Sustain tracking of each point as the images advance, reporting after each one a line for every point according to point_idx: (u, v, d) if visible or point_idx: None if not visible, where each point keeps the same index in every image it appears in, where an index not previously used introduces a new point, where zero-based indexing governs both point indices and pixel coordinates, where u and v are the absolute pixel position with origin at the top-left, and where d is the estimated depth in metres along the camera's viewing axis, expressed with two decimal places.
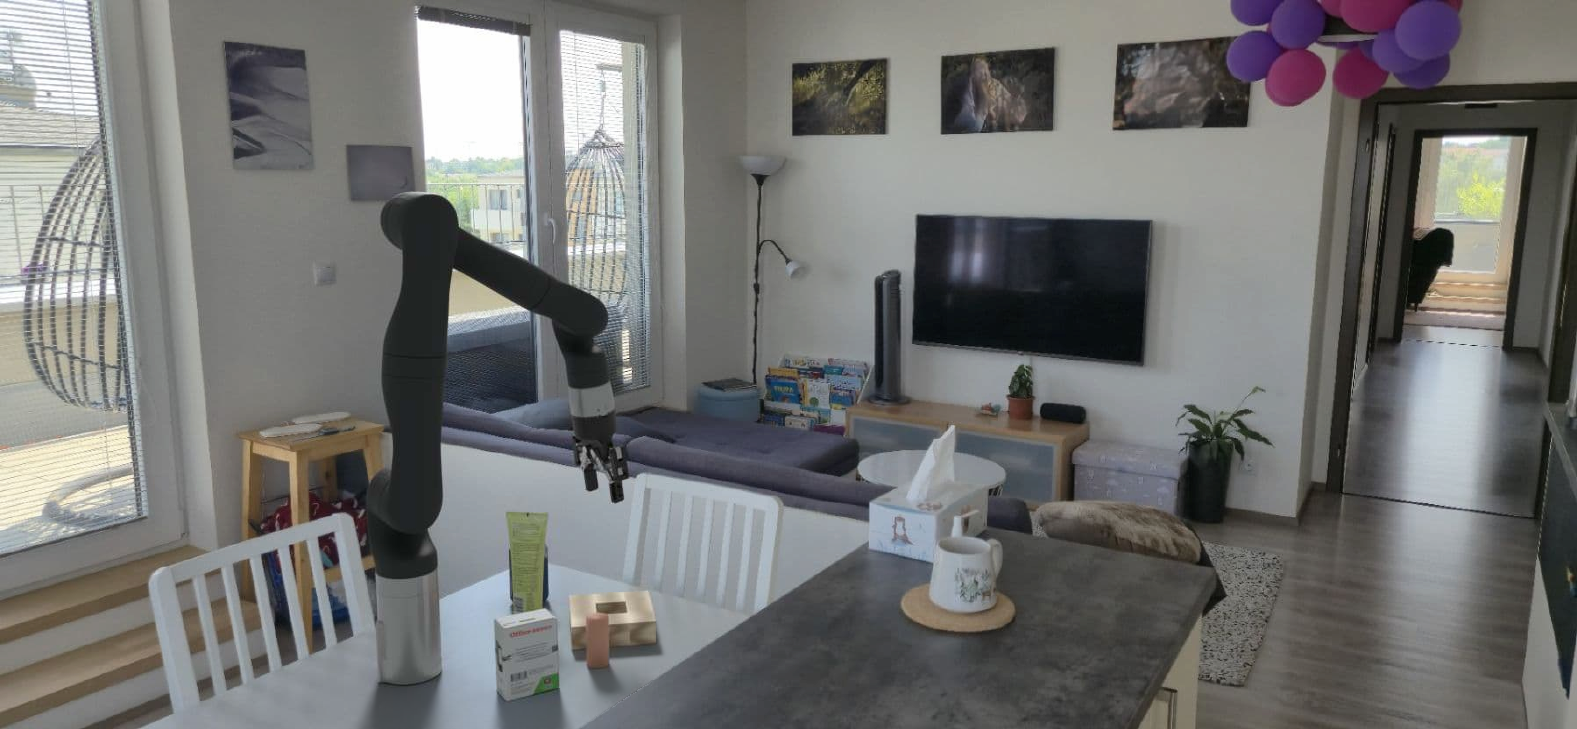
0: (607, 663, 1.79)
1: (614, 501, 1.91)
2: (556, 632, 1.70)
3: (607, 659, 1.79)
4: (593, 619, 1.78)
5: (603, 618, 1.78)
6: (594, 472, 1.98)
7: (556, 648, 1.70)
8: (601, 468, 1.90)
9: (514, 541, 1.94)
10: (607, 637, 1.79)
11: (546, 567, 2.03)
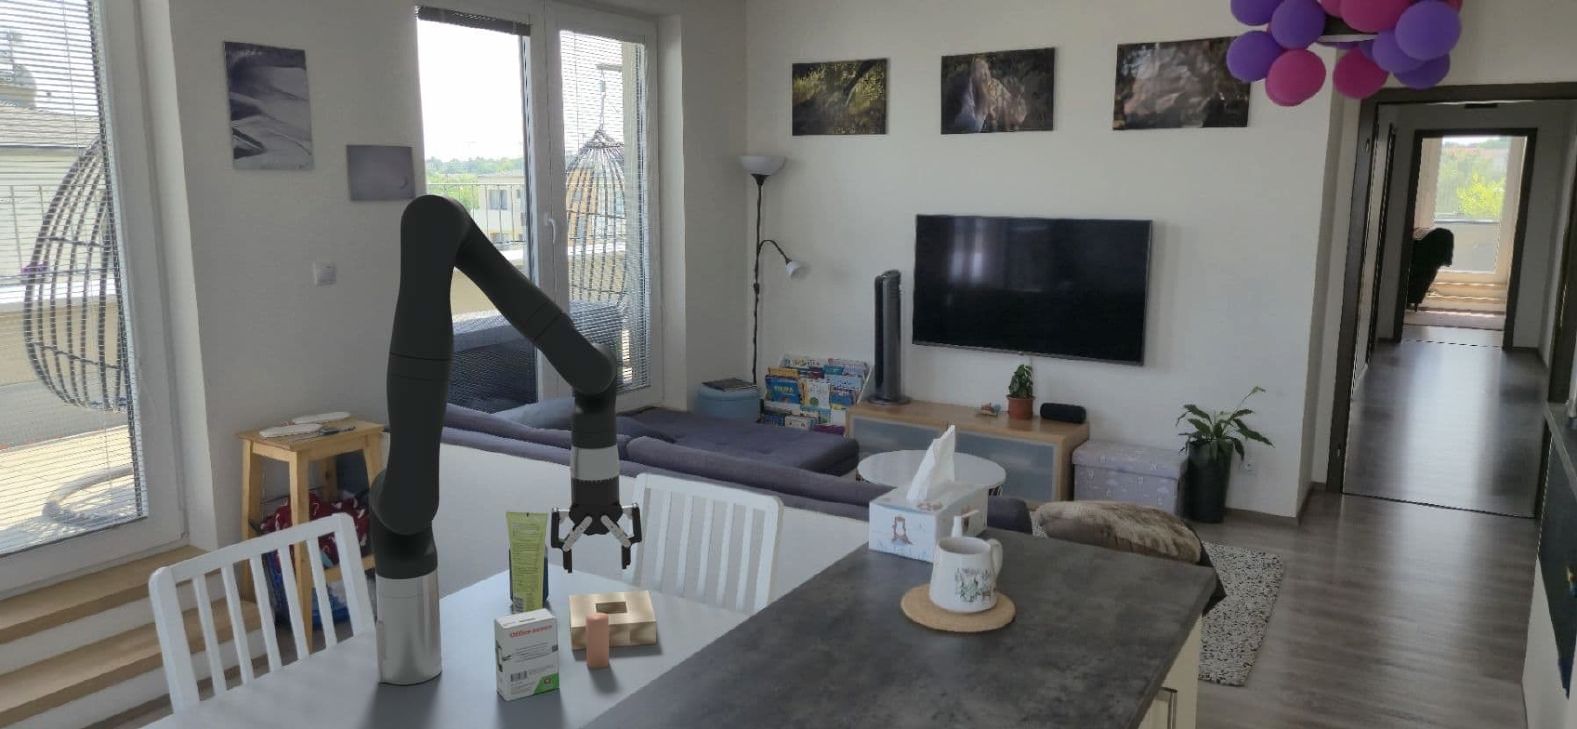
0: (607, 663, 1.79)
1: None
2: (556, 632, 1.70)
3: (607, 659, 1.79)
4: (593, 619, 1.78)
5: (603, 618, 1.78)
6: (621, 549, 1.77)
7: (556, 648, 1.70)
8: None
9: (514, 541, 1.94)
10: (607, 637, 1.79)
11: (546, 567, 2.03)
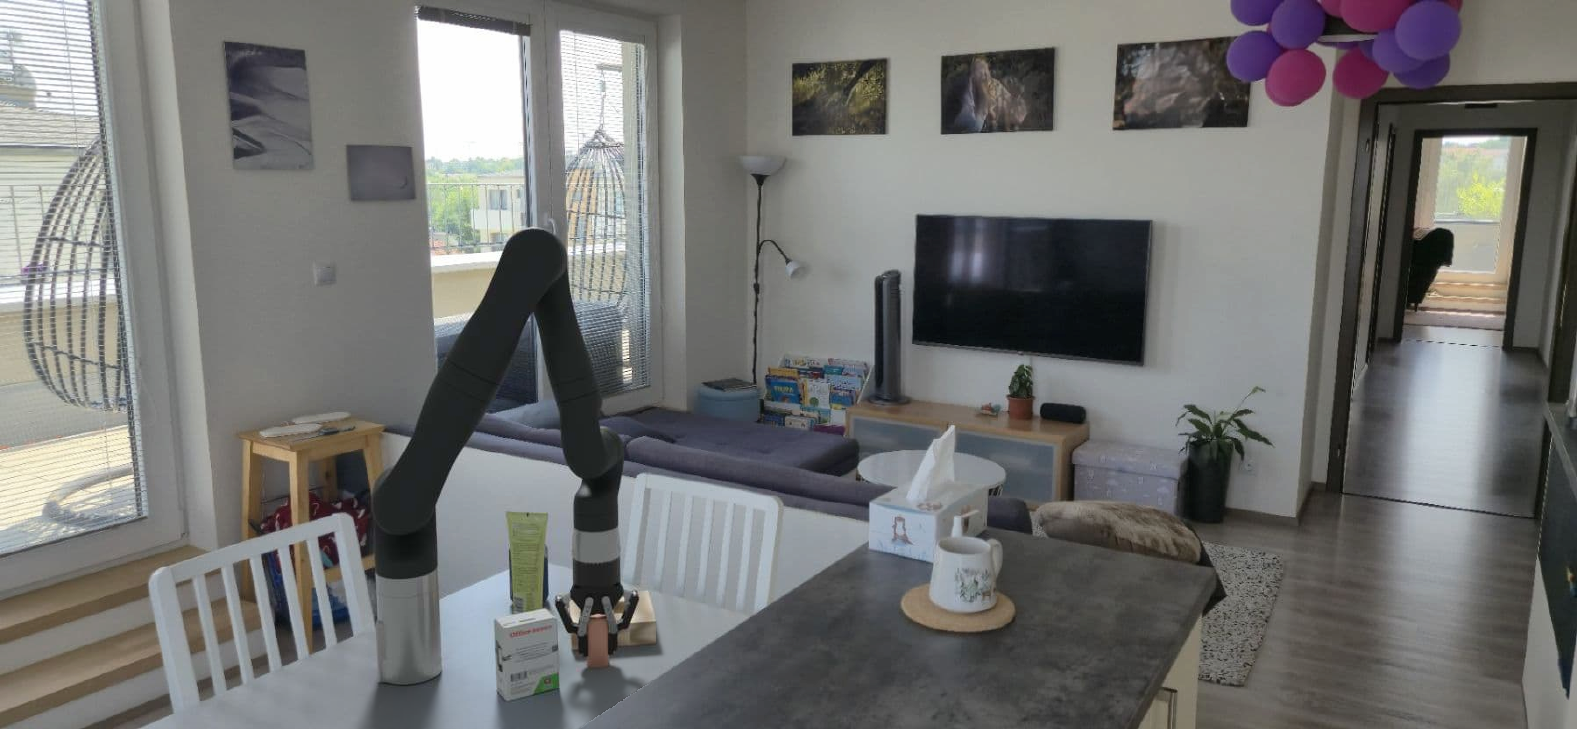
0: (607, 663, 1.79)
1: None
2: (556, 632, 1.70)
3: (607, 659, 1.79)
4: (593, 619, 1.78)
5: (603, 618, 1.78)
6: None
7: (556, 648, 1.70)
8: None
9: (514, 541, 1.94)
10: (607, 637, 1.79)
11: (546, 567, 2.03)
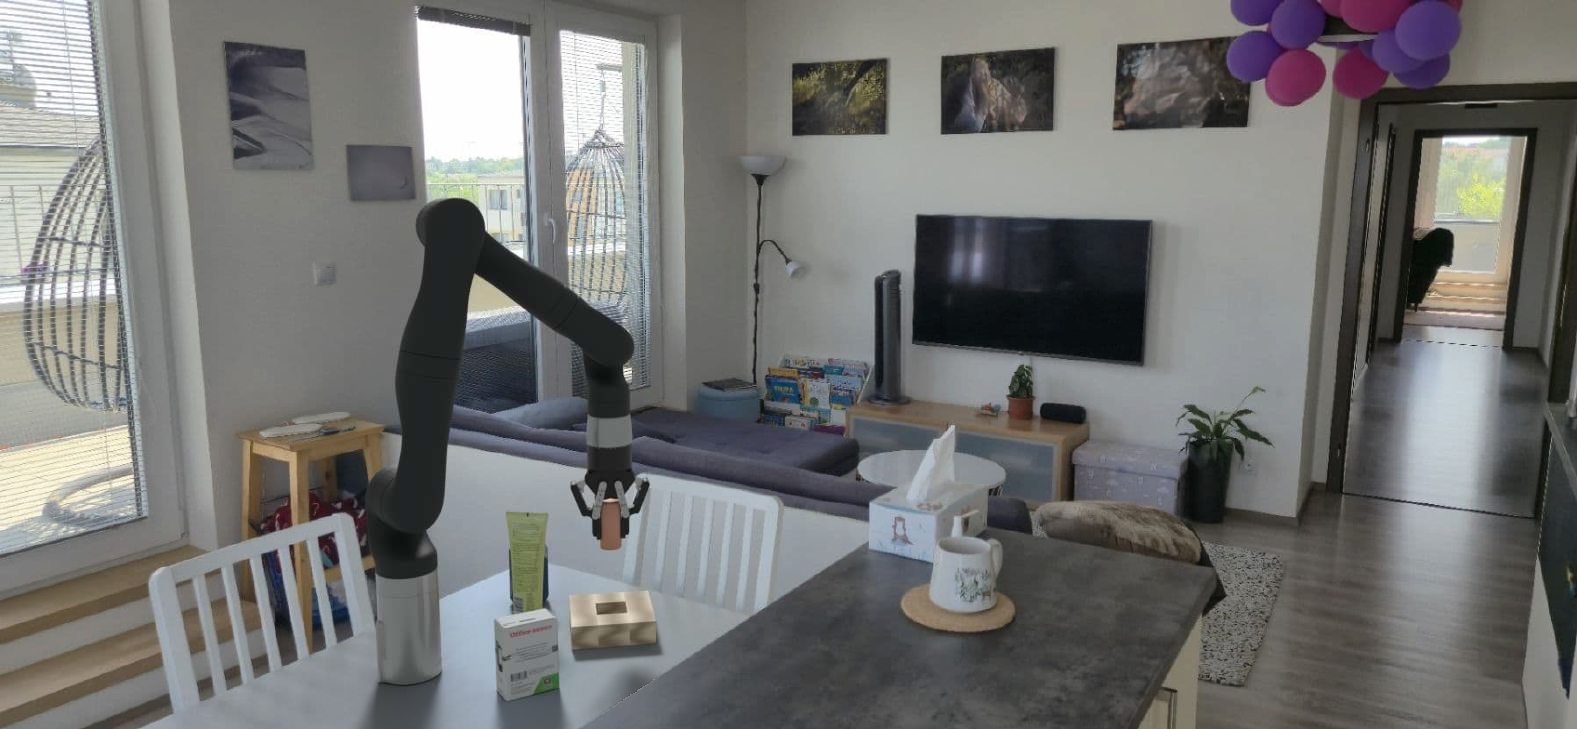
0: (620, 546, 1.90)
1: None
2: (556, 632, 1.70)
3: (620, 542, 1.90)
4: (606, 503, 1.88)
5: (616, 503, 1.88)
6: (621, 519, 1.89)
7: (556, 648, 1.70)
8: None
9: (514, 541, 1.94)
10: (620, 521, 1.89)
11: (546, 567, 2.03)
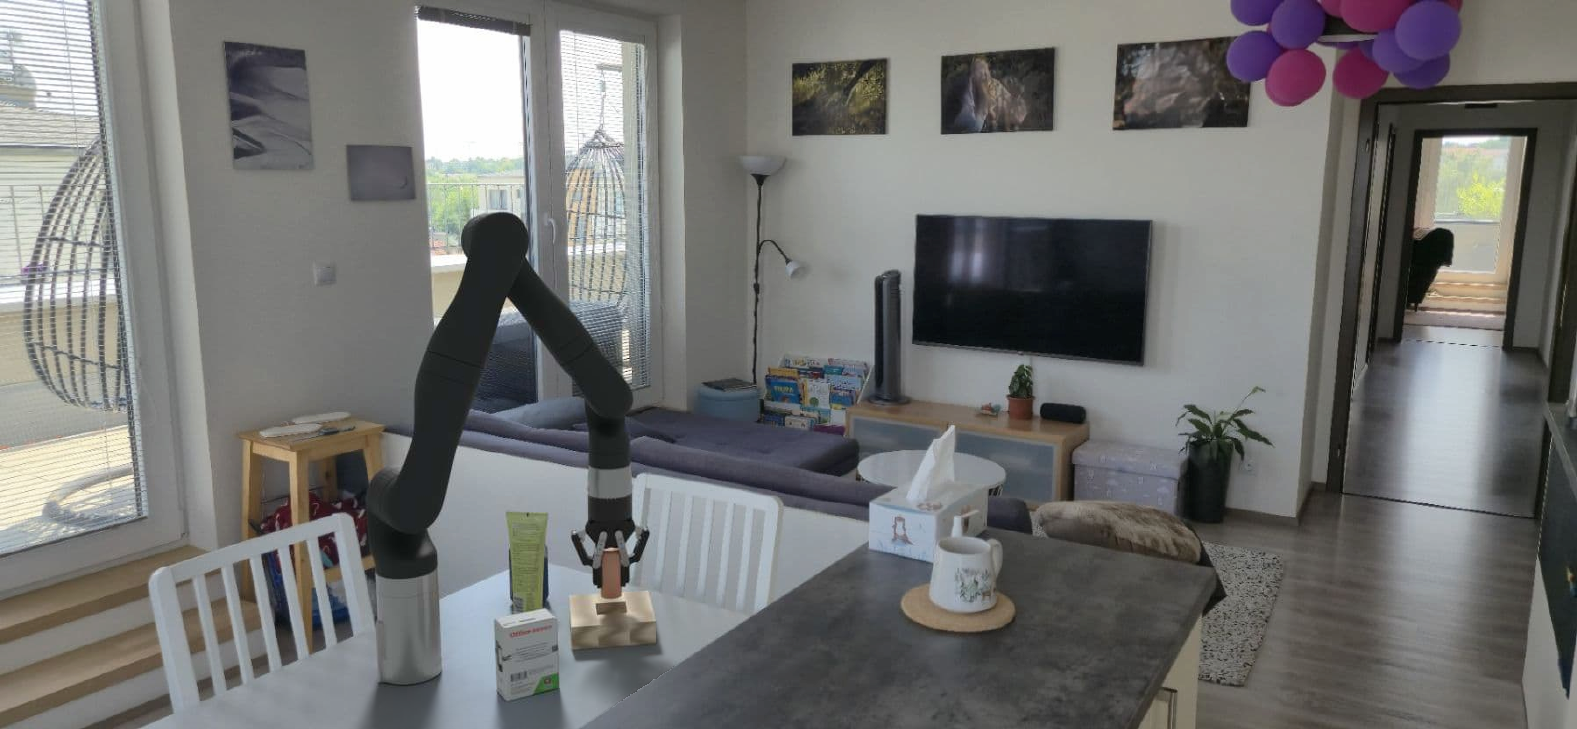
0: (620, 594, 1.91)
1: None
2: (556, 632, 1.70)
3: (620, 590, 1.91)
4: (607, 553, 1.90)
5: (616, 552, 1.90)
6: (621, 568, 1.91)
7: (556, 648, 1.70)
8: None
9: (514, 541, 1.94)
10: (620, 569, 1.91)
11: (546, 567, 2.03)
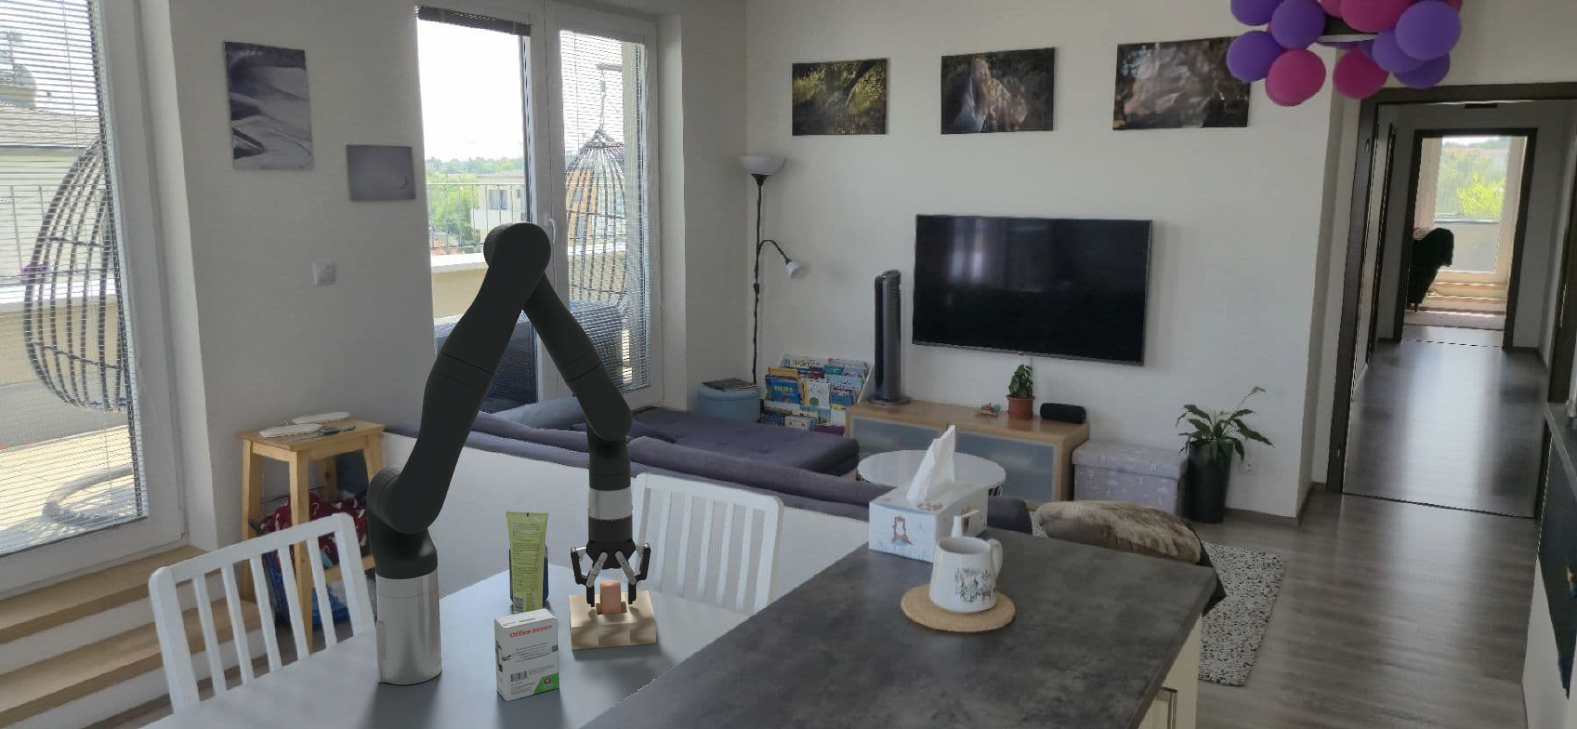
0: None
1: None
2: (556, 632, 1.70)
3: None
4: (606, 586, 1.91)
5: (615, 585, 1.91)
6: (628, 586, 1.92)
7: (556, 648, 1.70)
8: None
9: (514, 541, 1.94)
10: (619, 602, 1.92)
11: (546, 567, 2.03)
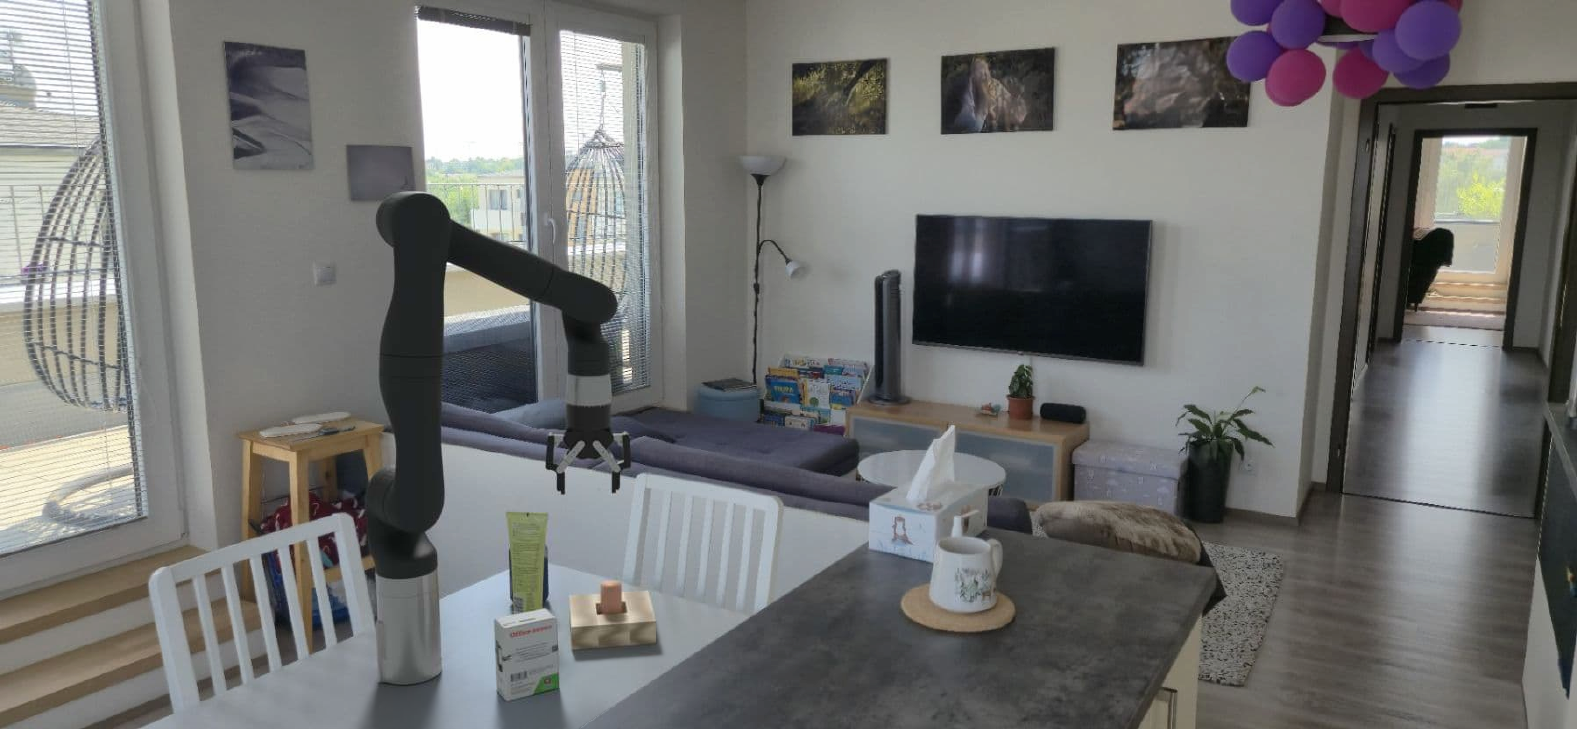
0: None
1: None
2: (556, 632, 1.70)
3: None
4: (607, 586, 1.91)
5: (616, 585, 1.91)
6: (612, 474, 1.89)
7: (556, 648, 1.70)
8: None
9: (514, 541, 1.94)
10: (620, 603, 1.92)
11: (546, 567, 2.03)
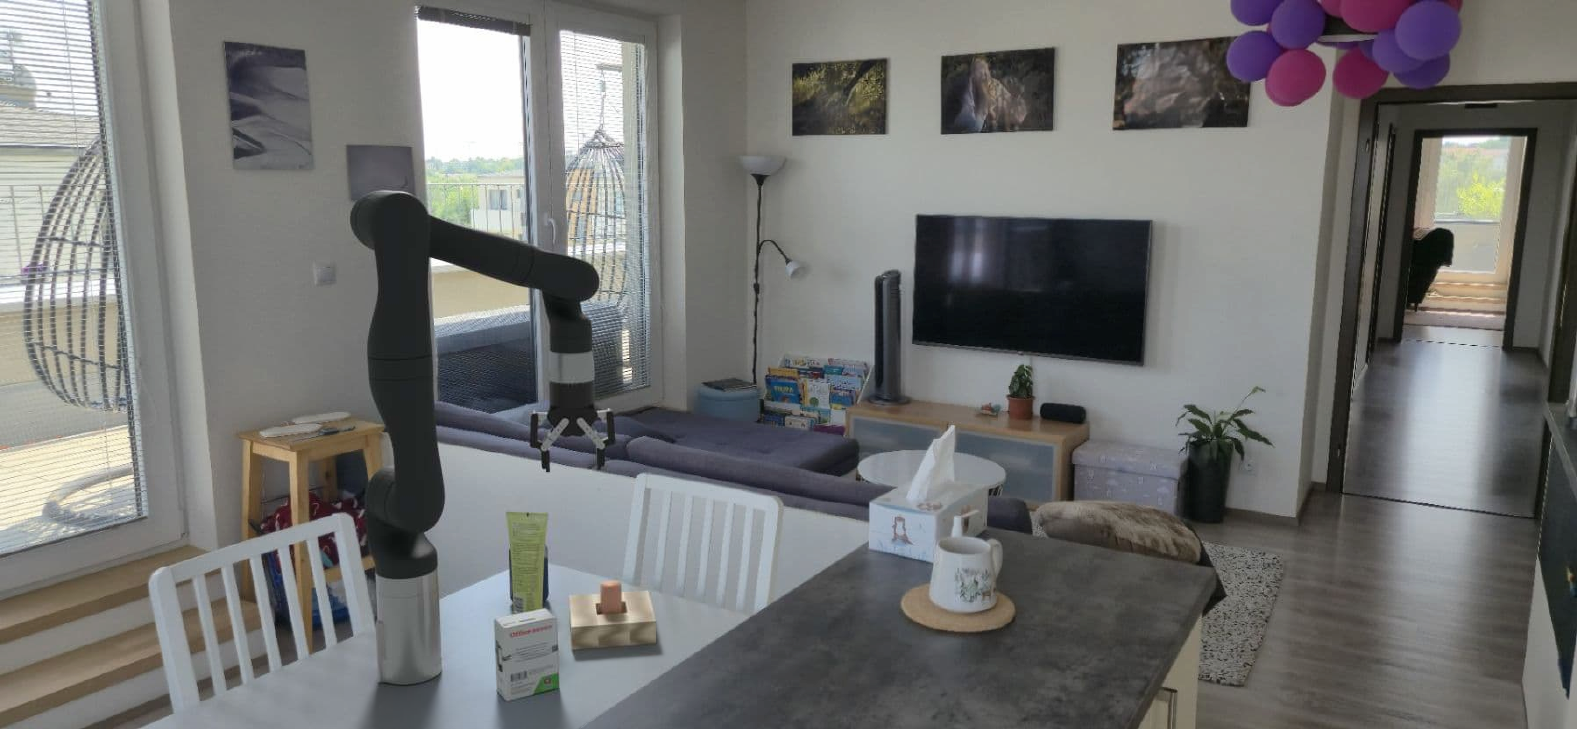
0: None
1: None
2: (556, 632, 1.70)
3: None
4: (607, 586, 1.91)
5: (616, 585, 1.91)
6: (596, 451, 1.89)
7: (556, 648, 1.70)
8: None
9: (514, 541, 1.94)
10: (620, 603, 1.92)
11: (546, 567, 2.03)
